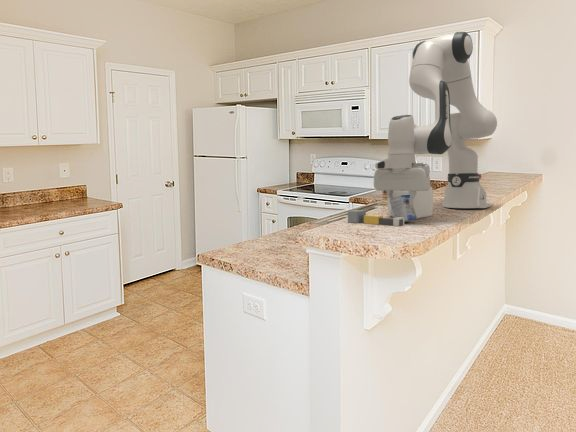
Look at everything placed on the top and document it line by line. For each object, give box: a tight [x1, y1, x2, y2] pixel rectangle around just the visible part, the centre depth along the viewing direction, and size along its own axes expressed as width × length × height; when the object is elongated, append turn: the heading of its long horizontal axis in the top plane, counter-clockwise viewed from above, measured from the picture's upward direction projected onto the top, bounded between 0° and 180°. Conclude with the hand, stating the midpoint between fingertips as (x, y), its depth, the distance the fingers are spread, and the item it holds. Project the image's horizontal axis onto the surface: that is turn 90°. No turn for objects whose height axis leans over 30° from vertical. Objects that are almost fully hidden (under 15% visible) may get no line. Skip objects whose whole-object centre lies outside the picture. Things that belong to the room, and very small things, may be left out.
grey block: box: [347, 209, 367, 224], centre depth 162 cm, size 5×5×4 cm
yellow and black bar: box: [359, 214, 405, 227], centre depth 155 cm, size 4×16×3 cm, turn 44°
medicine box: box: [390, 195, 417, 223], centre depth 158 cm, size 8×4×9 cm, turn 142°
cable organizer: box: [387, 186, 434, 220], centre depth 173 cm, size 15×11×12 cm
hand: (401, 204), depth 158 cm, fingers closed on medicine box, 5 cm apart
